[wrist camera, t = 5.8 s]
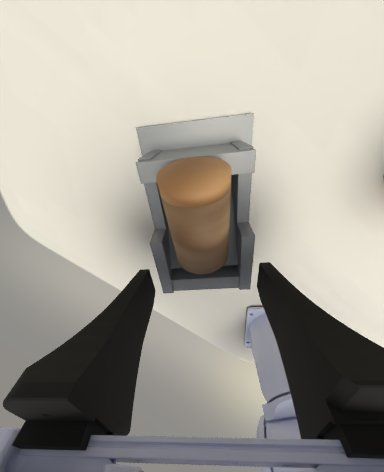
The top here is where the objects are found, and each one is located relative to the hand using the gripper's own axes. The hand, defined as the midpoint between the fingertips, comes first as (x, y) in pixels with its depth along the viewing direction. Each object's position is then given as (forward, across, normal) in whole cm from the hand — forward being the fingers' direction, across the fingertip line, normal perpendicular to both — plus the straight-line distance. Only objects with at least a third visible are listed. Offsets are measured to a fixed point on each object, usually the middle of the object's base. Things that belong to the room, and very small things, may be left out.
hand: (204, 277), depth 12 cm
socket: (+7, 0, -2) cm, 7 cm away
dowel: (+2, 0, -1) cm, 2 cm away
